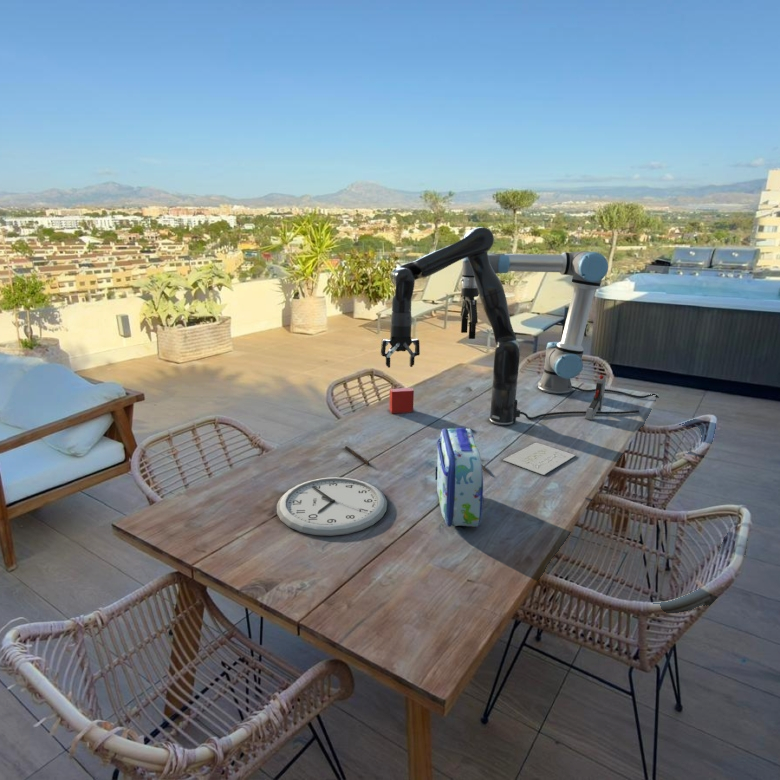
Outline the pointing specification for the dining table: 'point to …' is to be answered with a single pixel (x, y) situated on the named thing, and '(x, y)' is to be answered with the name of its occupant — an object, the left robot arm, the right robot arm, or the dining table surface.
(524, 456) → the invitation card
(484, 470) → the fork
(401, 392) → the brick
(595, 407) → the toy gun
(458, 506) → the lunch box
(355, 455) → the brown thin stick
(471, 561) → the dining table surface
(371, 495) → the wall clock
